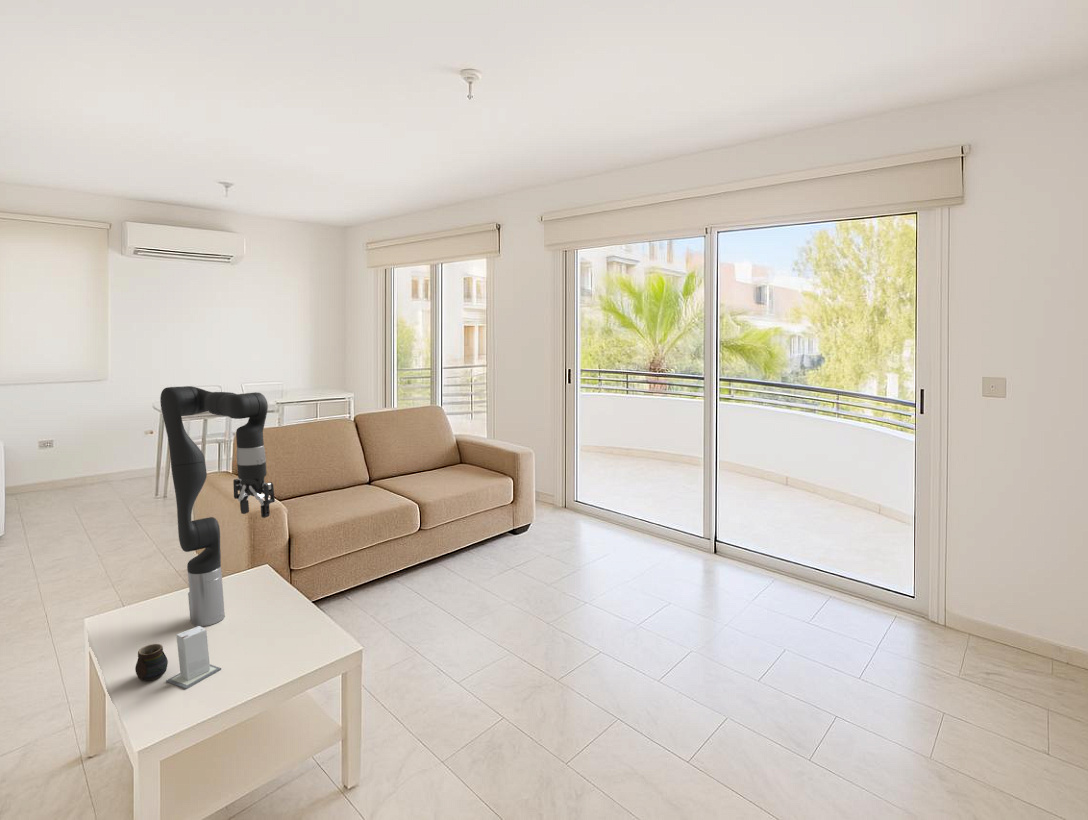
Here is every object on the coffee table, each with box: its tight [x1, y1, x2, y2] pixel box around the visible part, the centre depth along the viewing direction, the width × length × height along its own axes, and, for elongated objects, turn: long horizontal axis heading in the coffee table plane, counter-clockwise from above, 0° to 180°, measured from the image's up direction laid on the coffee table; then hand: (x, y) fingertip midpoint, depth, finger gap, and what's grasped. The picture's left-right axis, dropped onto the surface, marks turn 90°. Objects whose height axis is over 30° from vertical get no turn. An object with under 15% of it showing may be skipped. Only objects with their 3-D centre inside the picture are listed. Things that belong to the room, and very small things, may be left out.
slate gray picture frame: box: [165, 663, 222, 690], centre depth 160 cm, size 8×10×1 cm
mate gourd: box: [134, 643, 169, 682], centre depth 159 cm, size 7×8×10 cm
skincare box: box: [175, 626, 211, 680], centre depth 159 cm, size 6×4×12 cm
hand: (255, 515), depth 176 cm, fingers open, 8 cm apart
